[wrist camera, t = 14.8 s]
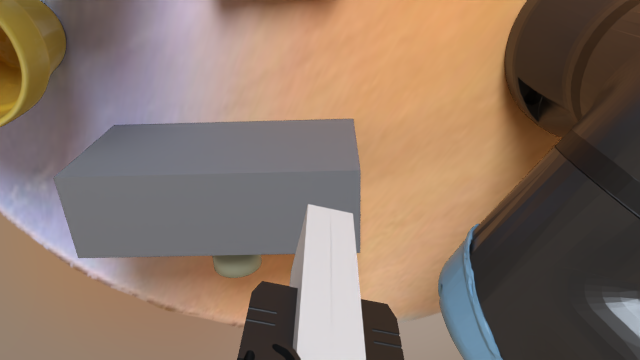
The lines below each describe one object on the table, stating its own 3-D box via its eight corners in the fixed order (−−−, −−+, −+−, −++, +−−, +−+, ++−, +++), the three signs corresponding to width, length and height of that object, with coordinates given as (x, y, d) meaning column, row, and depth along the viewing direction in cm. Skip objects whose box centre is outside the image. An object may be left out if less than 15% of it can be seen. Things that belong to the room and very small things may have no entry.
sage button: (259, 196, 45) (252, 221, 41) (264, 249, 47) (258, 277, 43) (211, 197, 45) (200, 222, 41) (219, 250, 47) (209, 278, 43)
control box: (353, 118, 44) (360, 170, 34) (353, 187, 47) (360, 252, 37) (114, 125, 45) (53, 177, 35) (129, 192, 48) (78, 258, 38)
